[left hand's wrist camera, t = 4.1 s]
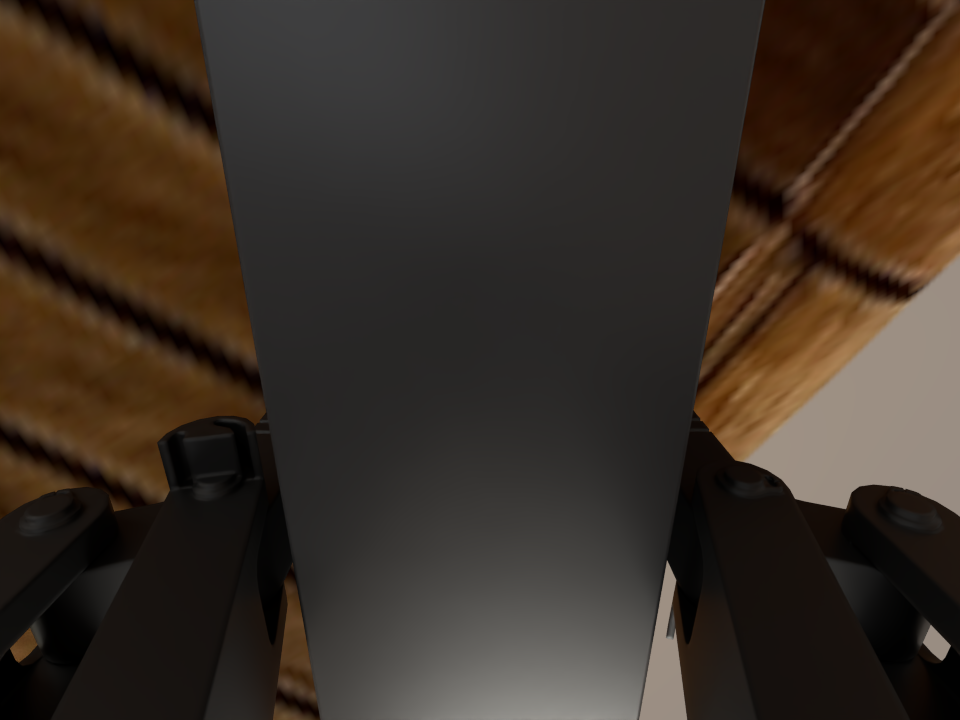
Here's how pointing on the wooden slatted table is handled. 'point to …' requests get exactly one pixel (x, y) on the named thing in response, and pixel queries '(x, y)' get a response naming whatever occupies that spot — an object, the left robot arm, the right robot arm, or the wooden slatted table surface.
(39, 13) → the wooden slatted table surface
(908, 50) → the wooden slatted table surface
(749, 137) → the wooden slatted table surface
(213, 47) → the bar
